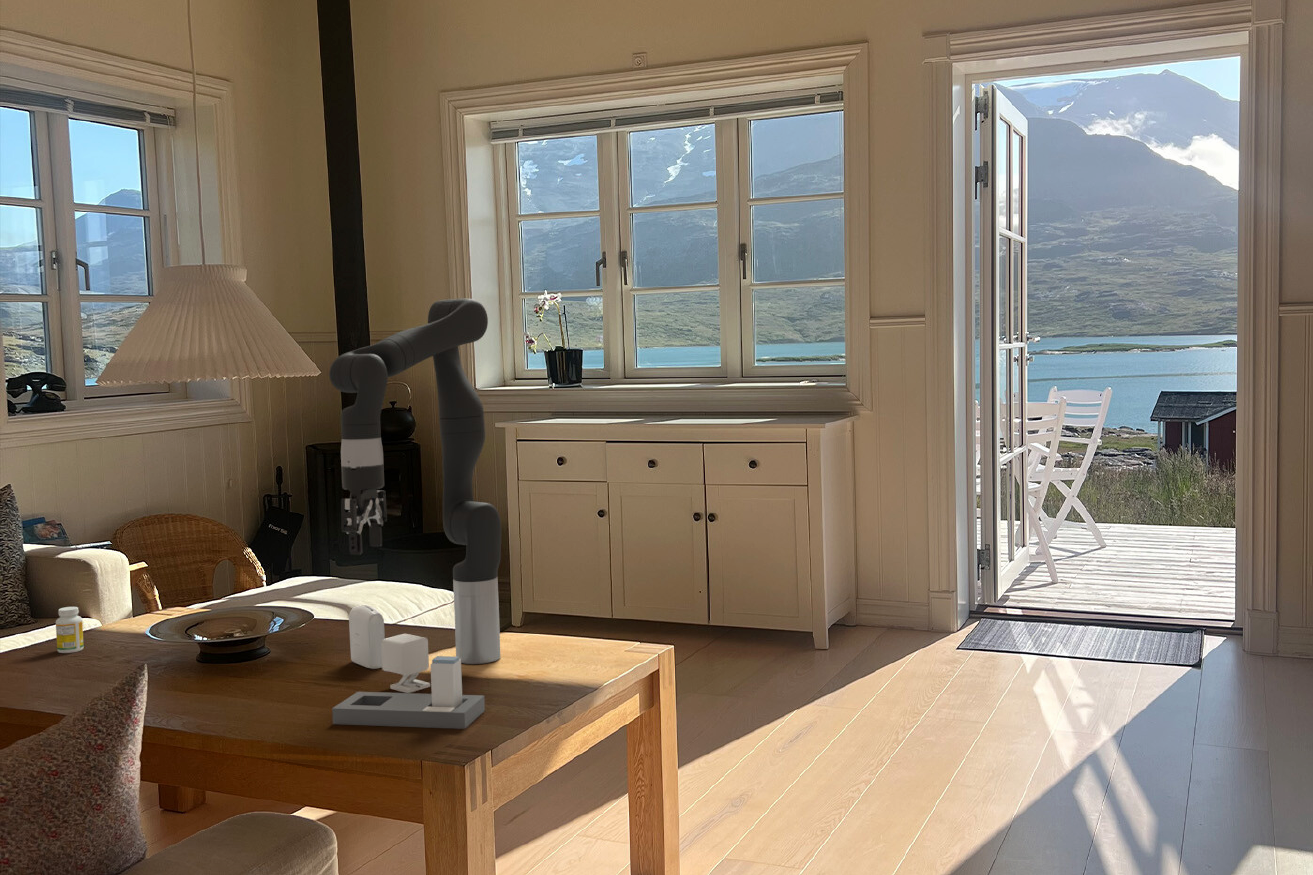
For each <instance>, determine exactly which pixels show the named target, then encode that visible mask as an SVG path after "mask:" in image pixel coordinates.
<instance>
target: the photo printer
mask: <svg viewBox="0 0 1313 875" xmlns="http://www.w3.org/2000/svg"><path fill="white" fill-rule="evenodd" d="M348 625H349V644H350V645H349V646H350V647H349V648H350V660H351V662H352V663H354V664H357V665H359V666H362V667H365V668H367V669H371V670H376V669H383V668H382V644H381V643H382V640H383V639H385V620H384V617H383V614H382V613H381V612H380V611H379V610H378V609H377V608H375V607H373V606H371V605H367V604H362V605H357V606H354V607H352V609H350V612H349V614H348Z"/></svg>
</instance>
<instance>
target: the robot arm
mask: <svg viewBox="0 0 1313 875" xmlns="http://www.w3.org/2000/svg"><path fill="white" fill-rule="evenodd" d="M488 324H489V317H488V314H487V310H486V308H485V306H484V305H483V304H482V303H481V302H480V301H478V300H476V299H473V298H451V299H441V300H436V301H434V302H433V303H432V305H431V306H430V308H429V310H428V315H427V324H422V325H419V326H416V327H412V328H408V329H407V328H406V329H404V330H401V331H398V332H397V333H394V334H392V335H390V336H388V337H385V338H383V339H381V340H380V341H378V342H376V343H374V344H371V345H368V346H364V347H360V348H357V349H354V350H351V351H347V352H345V353H342V354H341V355H339V356H338V357H336V358H335V359H334V361H333V362H332V363H331V365H330V367H329V368H330V369H329V373H328V374H329V375H328V376H329V381H330V383H331V384H332V386H333V387H334V388H335V389H337V391H339V392H342V393H348V394H349V393H350V394H354V393H355V394H356V393H357V394H356V398H355V402H354V404H353V405H350V406H347V407H344V408H343V409H342V411H341V414H340V430H341V445H340V460H341V462H340V464H341V484H342V485H341V487H342V489H343V490H345V491H349V493H350V494H349V498H341V500H340V517H341V518H340V519H341V524H340V527H341V532H342V533H346V534H347V535H348V548H349V550H348V551H349V554H350V555H351V556H353V555H354V556H356V555H357V556H358V555H361V554H362V553H363V535H362V531H363V526H364V524H366V523H367V524H368V526H369V527H368V531H369V532H368V534H369V535H368V536H369V546H370V547H372V548H374V547H375V548H379V547H382V546H383V529H382V527H383V526H384V522H387V521H388V510H387V507H388V506H387V498H386V496H387V495H386V494H387V493H386V490H382V488H384V487H385V472H384V471H385V468H384V466H385V465H384V451H383V450H384V449H383V444H382V436H381V435H382V434H381V433H382V432H381V430H382V429H381V427H382V426H381V414H382V409H383V408H382V407H383V405H384V399H385V396H386V390H387V387H388V379H389V378H391V377H394V376H398V375H399V374H401V373H403V372H404V371H405V372H406V370H408V369H410V368H411V367H414V366H416V365H417V364H419V363H421V362H423V361H425V360H427V359H429V358H431V357H432V359H433V367H434V372H435V382H436V390H437V400H438V404H437V405H438V421H439V423H438V424H439V433H440V434H439V435H440V442H441V454H442V455H441V456H442V459H441V460H442V477H443V482H442V483H443V485H442V486H443V487H442V489H443V490H442V491H443V492H442V493H443V494H442V525H443V530H444V533H445V536H446V537H447V539H448V540H449V541H450V542H451V543H453V544H456V545H462V546H466V550H465V551H466V553H465V558H464V560H462V561H461V562H458V563H455V565H454V566H453V568H452V578H453V579H452V582H453V584H452V586H453V587H452V588H453V602H454V604H453V606H454V607H453V608H454V609H453V610H454V613H453V614H454V632H455V634H454V635H455V636H454V638H455V657H459V659H461V664H467V665H478V664H479V665H480V664H482V665H483V664H488V663H491V662H492V663H493V662H496V661H499V659H500V658H501V636H500V634H501V632H500V631H501V630H500V610H499V608H500V605H499V584H498V582H499V581H498V578H499V577H498V575H499V574H498V571H499V566H500V563H501V558H502V556H501V555H502V551H501V550H502V524H501V517H500V514H499V511H498V509H497V508H496V507H495V506H494V505H493V504H492V503H489V502H483V501H481V502H480V501H475V500H474V494H473V493H474V492H473V477H474V476H473V475H474V472H475V471H474V470H475V468H476V465H477V462H478V460H479V458H480V455H481V453H482V450H483V448H484V444H485V440H486V428H485V426H486V425H485V413H484V412H485V411H484V407H483V403H482V400H481V398H480V396H479V395H478V393H477V392H476V390H475V388H474V387H473V384H471V382H470V380H469V379H468V377H467V375H466V373H465V371H464V369H463V366H462V363H461V357H460V349H459V348H460V347H459V346H462V345H467V344H471V343H475V342H478V341H480V340H481V339H482V338H483V337H484V335H485V333H486V331H487V329H488ZM380 489H381V490H380Z"/></svg>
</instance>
